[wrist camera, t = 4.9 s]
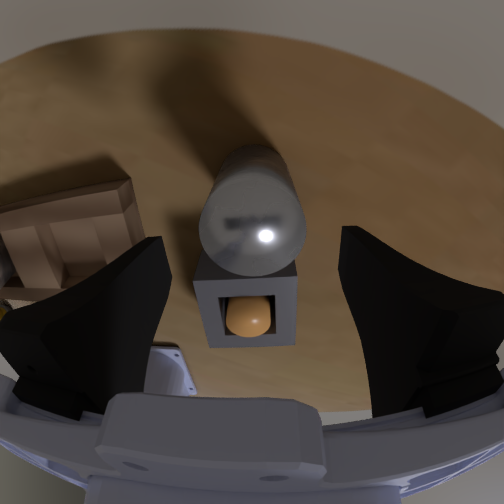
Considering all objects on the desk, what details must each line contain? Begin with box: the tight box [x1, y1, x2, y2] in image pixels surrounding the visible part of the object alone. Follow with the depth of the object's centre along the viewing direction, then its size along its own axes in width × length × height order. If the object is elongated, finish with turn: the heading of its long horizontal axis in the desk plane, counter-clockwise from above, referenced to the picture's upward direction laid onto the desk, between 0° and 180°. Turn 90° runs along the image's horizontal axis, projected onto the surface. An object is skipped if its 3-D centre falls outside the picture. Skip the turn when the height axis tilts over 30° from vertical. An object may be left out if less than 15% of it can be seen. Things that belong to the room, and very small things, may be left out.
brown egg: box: [226, 295, 271, 337], centre depth 22 cm, size 3×3×4 cm
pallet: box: [0, 178, 145, 301], centre depth 22 cm, size 10×24×2 cm, turn 94°
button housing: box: [193, 250, 297, 348], centre depth 23 cm, size 7×7×4 cm
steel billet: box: [199, 145, 306, 276], centre depth 16 cm, size 5×5×8 cm
